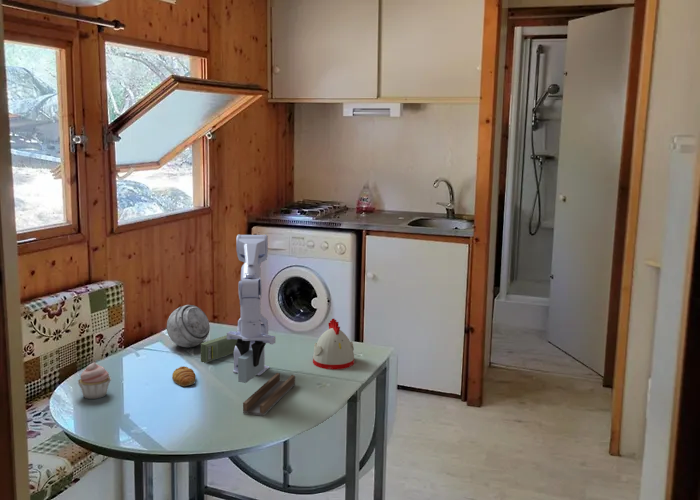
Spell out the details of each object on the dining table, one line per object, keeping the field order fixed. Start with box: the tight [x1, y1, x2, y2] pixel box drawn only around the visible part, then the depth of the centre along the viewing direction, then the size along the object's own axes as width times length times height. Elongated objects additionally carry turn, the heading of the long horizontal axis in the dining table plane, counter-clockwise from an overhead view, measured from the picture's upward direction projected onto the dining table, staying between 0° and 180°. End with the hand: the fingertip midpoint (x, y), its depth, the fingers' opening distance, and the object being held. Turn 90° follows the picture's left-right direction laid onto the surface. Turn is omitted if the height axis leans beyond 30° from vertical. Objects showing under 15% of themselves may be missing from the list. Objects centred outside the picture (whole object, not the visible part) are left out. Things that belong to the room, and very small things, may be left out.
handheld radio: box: [200, 334, 237, 363], centre depth 236 cm, size 7×3×25 cm
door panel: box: [237, 348, 264, 384], centre depth 198 cm, size 2×12×7 cm, turn 163°
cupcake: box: [77, 361, 112, 400], centre depth 197 cm, size 9×9×10 cm
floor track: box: [242, 372, 296, 417], centre depth 197 cm, size 6×24×3 cm, turn 164°
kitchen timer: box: [312, 318, 355, 370], centre depth 227 cm, size 14×14×15 cm
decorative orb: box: [166, 304, 211, 348], centre depth 241 cm, size 15×14×15 cm
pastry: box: [171, 366, 197, 387], centre depth 209 cm, size 9×7×4 cm
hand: (251, 364), depth 198 cm, fingers closed on door panel, 2 cm apart
